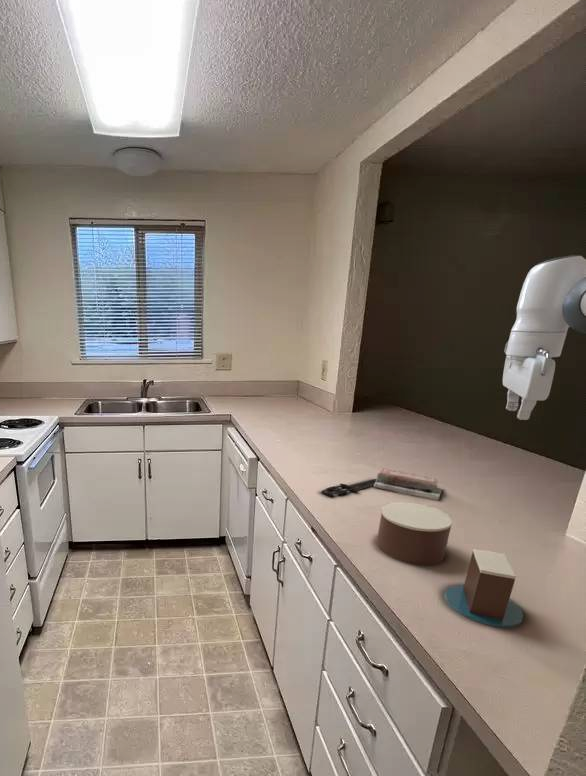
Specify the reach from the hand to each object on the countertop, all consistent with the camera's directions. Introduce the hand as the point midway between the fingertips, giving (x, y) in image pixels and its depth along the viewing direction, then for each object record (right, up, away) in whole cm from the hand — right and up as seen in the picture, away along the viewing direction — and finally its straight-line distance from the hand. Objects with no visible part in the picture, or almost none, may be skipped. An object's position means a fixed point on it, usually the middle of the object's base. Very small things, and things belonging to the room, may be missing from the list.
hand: (516, 414), depth 92 cm
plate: (-15, -38, -11) cm, 42 cm away
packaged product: (-1, -17, +42) cm, 46 cm away
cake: (-18, -30, +8) cm, 36 cm away
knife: (-17, -17, +44) cm, 50 cm away
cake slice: (-15, -37, -12) cm, 42 cm away
